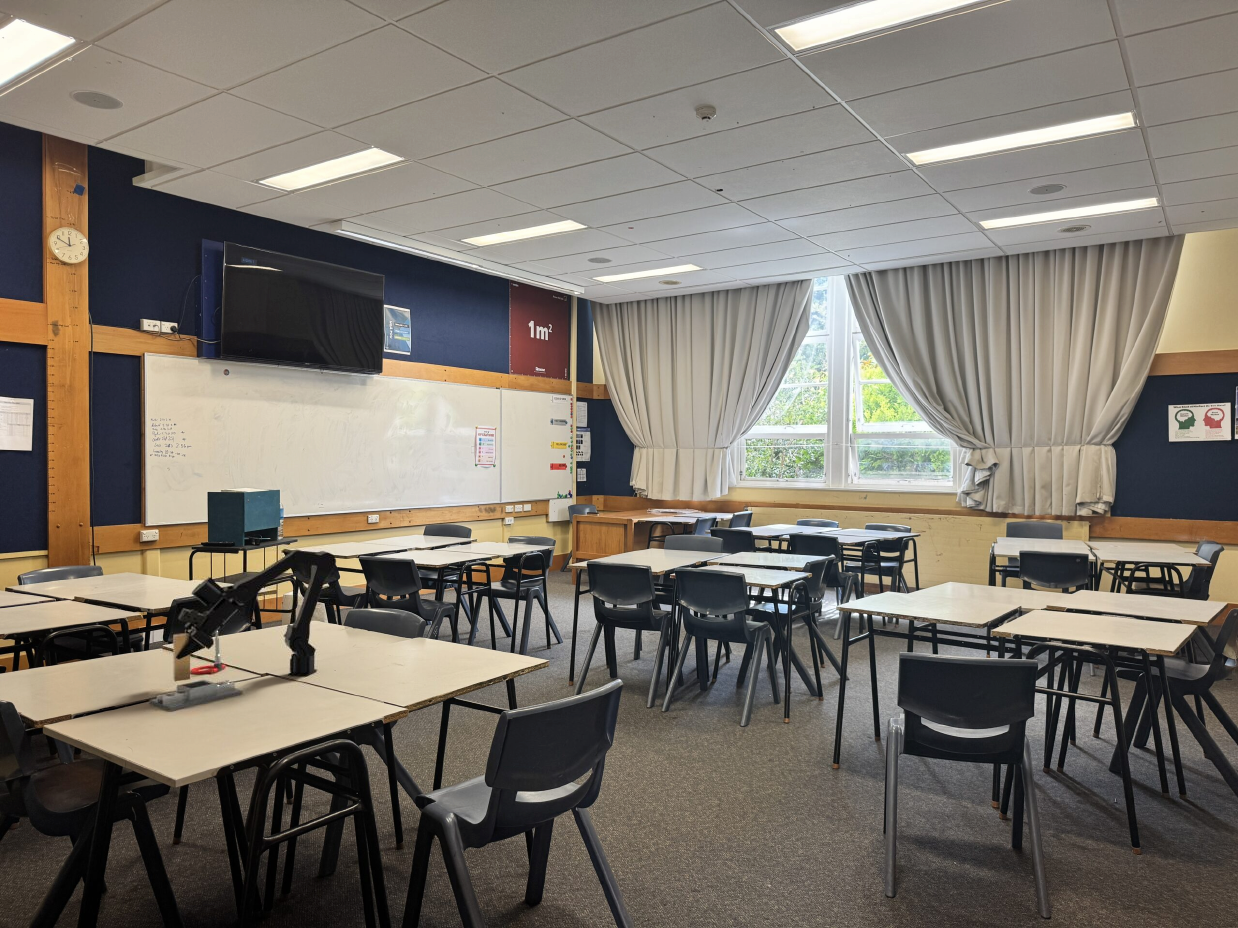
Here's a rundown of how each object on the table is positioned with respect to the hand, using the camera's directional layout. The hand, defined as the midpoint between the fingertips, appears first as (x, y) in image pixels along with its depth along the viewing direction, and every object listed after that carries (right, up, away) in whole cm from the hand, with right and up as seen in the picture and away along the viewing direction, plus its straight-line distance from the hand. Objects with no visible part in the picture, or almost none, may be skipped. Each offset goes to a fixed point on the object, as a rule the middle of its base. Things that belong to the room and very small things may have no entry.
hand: (176, 657), depth 231 cm
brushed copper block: (+1, -7, +1) cm, 7 cm away
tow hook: (-3, -10, +23) cm, 25 cm away
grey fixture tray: (+10, -10, -7) cm, 16 cm away
